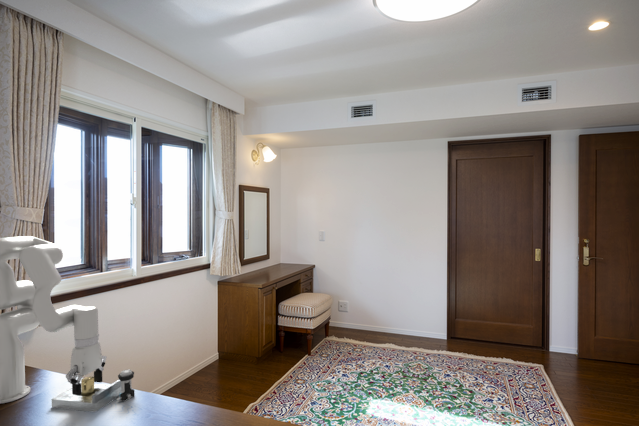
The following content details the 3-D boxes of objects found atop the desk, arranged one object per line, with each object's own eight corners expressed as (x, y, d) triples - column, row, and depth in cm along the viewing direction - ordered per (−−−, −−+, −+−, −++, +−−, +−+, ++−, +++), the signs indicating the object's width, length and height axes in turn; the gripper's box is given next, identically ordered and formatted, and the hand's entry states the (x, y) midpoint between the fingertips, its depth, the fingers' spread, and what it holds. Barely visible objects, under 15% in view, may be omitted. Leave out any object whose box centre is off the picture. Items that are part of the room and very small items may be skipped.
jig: (51, 407, 134) (51, 392, 134) (81, 390, 146) (81, 376, 146) (95, 412, 130) (95, 396, 130) (122, 393, 143) (122, 379, 143)
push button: (121, 405, 134) (121, 377, 134) (111, 402, 137) (111, 374, 136) (138, 396, 140) (137, 369, 140) (128, 393, 143) (127, 367, 142)
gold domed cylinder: (79, 402, 137) (78, 380, 137) (88, 397, 140) (87, 376, 140) (88, 403, 136) (88, 381, 136) (97, 398, 140) (96, 376, 140)
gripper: (96, 333, 147) (97, 377, 147) (57, 349, 130) (58, 398, 130) (113, 334, 146) (114, 378, 146) (75, 350, 129) (77, 400, 129)
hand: (87, 388), depth 138 cm, fingers open, 9 cm apart
